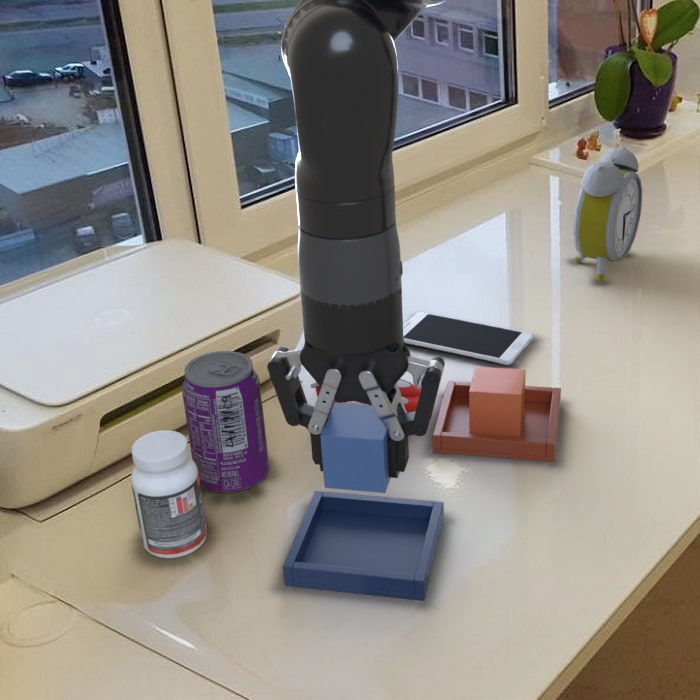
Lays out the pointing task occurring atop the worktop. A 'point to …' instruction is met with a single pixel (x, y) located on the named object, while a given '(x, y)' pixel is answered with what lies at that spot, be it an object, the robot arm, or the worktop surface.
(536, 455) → the terracotta tray
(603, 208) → the alarm clock
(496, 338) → the smartphone
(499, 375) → the terracotta block
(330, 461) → the blue block
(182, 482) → the pill bottle
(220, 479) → the beverage can
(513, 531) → the worktop surface
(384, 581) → the blue tray
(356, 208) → the robot arm
